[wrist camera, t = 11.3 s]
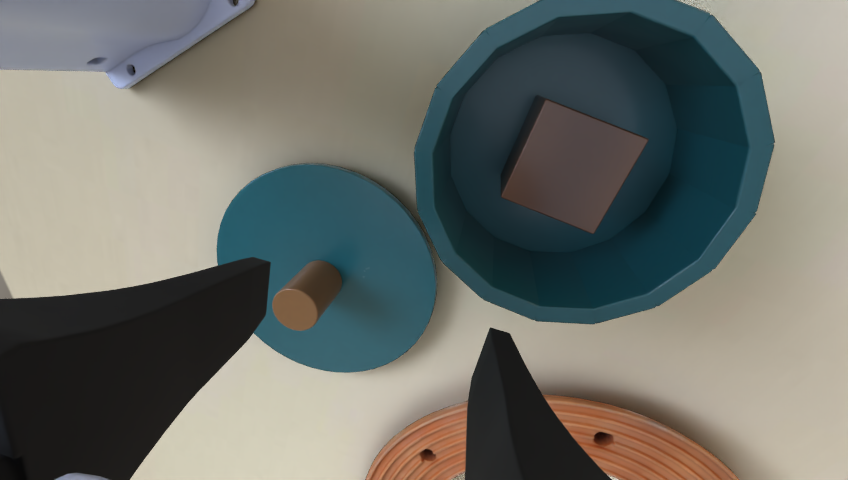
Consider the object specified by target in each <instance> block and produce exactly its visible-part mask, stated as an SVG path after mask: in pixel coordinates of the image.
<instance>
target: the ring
mask: <svg viewBox="0 0 848 480" xmlns="http://www.w3.org/2000/svg"><path fill="white" fill-rule="evenodd" d="M543 396H544V398H545V399H546V401H547V403H548V404H549V406H550V407H551V409H552V410H553V411H554V413H555V414H556V416H557V417H558V418H559V420H560V421H561V422H562V424H563V425H564V426H565V428H566V429H567V430H568V431H569V433H570V434H571V435H572V437H573V438H574V439H575V440H576V441H577V443H578V444H579V445H580V446H581V447H582V448H583V450H584V451H585V452H586V453H587V454H588V455H589V456H590V457H591V458H592V460H593V461H594V462H595V463H596V464H597V465H598V466H599V467H600V468H601V469H602V470H603V471H604V472H605V473H606V474H607V475H610V476H612V477H615V478H617V479H619V480H739V479H738V478H737V476H736V475H735V474H734V473H733V472H732V471H731V470H730V469H729V468H728V467H727V466H726V465H725V464H724V463H722V462H721V461H720V460H719V459H718V458H716V457H715V456H714V455H713V454H711V453H710V452H709V451H707V450H706V449H705V448H703V447H702V446H701V445H699V444H697V443H696V442H694V441H692V440H691V439H689V438H687V437H686V436H684V435H682V434H681V433H679V432H677V431H675V430H674V429H672V428H670V427H668V426H666V425H664V424H661V423H659V422H657V421H655V420H653V419H651V418H648V417H646V416H643V415H640V414H638V413H635V412H632V411H629V410H626V409H623V408H620V407H616V406H613V405H609V404H605V403H600V402H596V401H591V400H586V399H580V398H574V397H567V396H556V395H543ZM467 406H468V401H466V402H463V403H459V404H455V405H452V406H449V407H446V408H443V409H441V410H439V411H436V412H434V413H431V414H429V415H427V416H425V417H423V418H421V419H419V420H417V421H416V422H414V423H412V424H411V425H409V426H408V427H406V428H405V429H403V430H402V431H401V432H400V433H398V434H397V435H395V436H394V437H393V438H392V439H391V440H390V441H389V442H388V443H387V444H386V445H385V446H384V448H383V449H382V450H381V451H380V452H379V454H378V455H377V457H376V458H375V459H374V461H373V463H372V465H371V467H370V469H369V472H368V474H367V477H366V479H365V480H451V479H453V478H455V477H457V476H458V475H460V474H463V473H465V464H466V428H467Z"/></svg>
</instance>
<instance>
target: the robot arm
mask: <svg viewBox="0 0 848 480" xmlns="http://www.w3.org/2000/svg"><path fill="white" fill-rule="evenodd" d="M254 2H255V0H239V1H238V4H237V6H235V5H234V3H233V0H0V69H2V70H48V71H94V72H106V74H107V75H108V77H109V78H110V80H111V82H112V83H113V84H114V85H115V86H116V87H117V88H120V89H127V88H130V87H131V86H133V85H134V84H136V83H137V82H139V81H140V80H142V79H143V78H145V77H146V76H148V75H149V74H151V73H152V72H154V71H155V70H157V69H158V68H160V67H161V66H163V65H164V64H166V63H167V62H169V61H170V60H172V59H173V58H175V57H176V56H178V55H179V54H181V53H182V52H184V51H185V50H187V49H188V48H190V47H191V46H193V45H194V44H196V43H197V42H199V41H200V40H202V39H203V38H205V37H206V36H208V35H210V34H211V33H213V32H214V31H216V30H217V29H219V28H220V27H222V26H223V25H225V24H226V23H228V22H229V21H231V20H232V19H234V18H235V17H237V16H238V15H240V14H241V13H243V12H244V11H246V10H247V9H249V8H250V7H251V6H252V5H253V4H254ZM133 66H134V67H135V70H136V72H135V73H134V72H133ZM270 266H271V262H269V261H265V260H262V259H259V258H255V257H250V258H245V259H241V260H237V261H233V262H229V263H226V264H222V265H219V266H215V267H212V268H208V269H205V270H201V271H198V272H194V273H190V274H186V275H182V276H178V277H174V278H170V279H166V280H162V281H158V282H154V283H149V284H144V285H139V286H134V287H128V288H122V289H116V290H109V291H102V292H93V293H84V294H75V295H66V296H54V297H39V298H17V299H0V480H130V478H131V477H132V476H133V474H134V473H135V471H136V470H137V469H138V467H139V466H140V464H141V463H142V462H143V460H144V459H145V458H146V456H147V455H148V454H149V452H150V451H151V450H152V448H153V447H154V446H155V444H156V443H157V442H158V440H159V439H160V438H161V436H162V435H163V434H164V432H165V431H166V430H167V429H168V427H169V426H170V425H171V423H172V422H173V421H174V420H175V418H176V417H177V416H178V415H179V413H180V412H181V411H182V410H183V408H184V407H185V406H186V405H187V403H188V402H189V401H190V400H191V399H192V398H193V397H194V396H195V394H196V393H197V392H198V391H199V390H200V389H201V388H202V387H203V386H204V385H205V384H206V383H207V382H208V381H209V380H210V379H211V378H212V377H213V376H214V375H215V374H216V373H217V372H218V371H219V370H220V369H221V367H222V366H223V365H224V364H225V363H226V362H227V361H228V360H229V359H230V358H231V357H232V356H233V355H234V354H235V353H236V352H237V351H238V350H239V349H240V348H241V347H242V346H243V345H244V344H245V342H246V341H247V340H248V339H249V338H250V337H251V335H252V334H253V333H254V331H255V330H256V329H257V327H258V326H259V324H260V323H261V321H262V320H263V319H264V317H265V316H266V310H267V299H268V288H269V277H270ZM465 480H611V479H610V478H609V477H608V476H607V474H606V473H605V472H604V471H603V470H602V469H601V468H600V467H599V466H598V465H597V464H596V463H595V462H594V461H593V460H592V458H591V457H590V456H589V455H588V454H587V453H586V452H585V451H584V450H583V448H582V447H581V446H580V445H579V444H578V443H577V441H576V440H575V439H574V438H573V437H572V435H571V434H570V433H569V431H568V430H567V429H566V428H565V426H564V425H563V424H562V422H561V421H560V420H559V418H558V417H557V416H556V414H555V413H554V411H553V410H552V409H551V407H550V406H549V404H548V403H547V401H546V399H545V398H544V396H543V395H542V393H541V392H540V390H539V388H538V387H537V385H536V383H535V381H534V380H533V378H532V376H531V374H530V373H529V371H528V369H527V367H526V365H525V363H524V361H523V359H522V357H521V355H520V353H519V351H518V349H517V347H516V345H515V343H514V341H513V339H512V337H511V335H510V333H507V332H503V331H500V330H497V329H493V328H490V329H489V332H488V335H487V337H486V340H485V343H484V346H483V348H482V351H481V354H480V357H479V359H478V362H477V365H476V368H475V371H474V373H473V376H472V380H471V386H470V392H469V399H468V406H467V428H466V464H465Z"/></svg>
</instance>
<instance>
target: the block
mask: <svg viewBox="0 0 848 480" xmlns="http://www.w3.org/2000/svg"><path fill="white" fill-rule="evenodd" d="M648 141H649V139H648V138H646V137H643V136H641V135H638V134H636V133H633V132H631V131H628V130H625V129H623V128H620V127H618V126H615V125H613V124H610V123H608V122H605V121H603V120H600V119H597V118H595V117H592V116H590V115H587V114H585V113H582V112H580V111H577V110H575V109H572V108H570V107H567V106H564V105H562V104H559V103H557V102H554V101H552V100H549V99H547V98H544V97H541V96H539V95H537V96H536V97H535V99H534V101H533V104H532V106H531V108H530V110H529V112H528V115H527V117H526V119H525V121H524V124H523V126H522V128H521V130H520V133H519V135H518V137H517V139H516V141H515V144H514V146H513V148H512V150H511V153H510V155H509V157H508V159H507V162H506V164H505V166H504V168H503V170H502V173H501V175H500V177H501V197H502V198H503V199H506V200H508V201H511V202H513V203H516V204H518V205H521V206H523V207H526V208H528V209H531V210H533V211H536V212H538V213H541V214H543V215H546V216H548V217H551V218H553V219H556V220H558V221H561V222H563V223H566V224H568V225H571V226H573V227H576V228H578V229H581V230H583V231H586V232H588V233H591V234H594V233H595V231H596V230H597V228H598V226H599V225H600V223H601V221H602V220H603V218H604V216H605V214H606V213H607V211H608V209H609V208H610V206H611V204H612V202H613V201H614V199H615V197H616V196H617V194H618V192H619V190H620V189H621V187H622V185H623V184H624V182H625V180H626V179H627V177H628V175H629V173H630V172H631V170H632V168H633V167H634V165H635V163H636V161H637V160H638V158H639V156H640V155H641V153H642V151H643V150H644V148H645V146H646V144H647V143H648Z"/></svg>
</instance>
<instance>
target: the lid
mask: <svg viewBox="0 0 848 480" xmlns="http://www.w3.org/2000/svg"><path fill="white" fill-rule="evenodd" d="M250 257H255V258H259V259H262V260H265V261H269V262H271V266H270V277H269V288H268V299H267V310H266V316H265V317H264V319H263V320H262V321H261V323H260V324H259V326H258V327H257V329H256V330H255V331H254V334H255V335H256V336H257V337H259V338H260V339H261V340H262V341H263V342H264V343H266V344H267V345H268V346H270V347H271V348H272V349H274V350H275V351H277V352H278V353H280V354H282V355H283V356H285V357H287V358H289V359H291V360H293V361H295V362H298V363H300V364H303V365H306V366H309V367H312V368H316V369H320V370H324V371H331V372H348V373H349V372H360V371H366V370H370V369H375V368H377V367H380V366H383V365H386V364H388V363H390V362H392V361H393V360H395V359H397V358H398V357H400V356H401V355H403V354H404V353H405V352H407V351H408V350H409V349H410V348H411V347H412V346H413V345H414V344H415V343H416V342H417V340H418V339H419V338H420V336H421V335H422V334H423V332H424V330H425V328H426V327H427V325H428V323H429V320H430V317H431V315H432V312H433V309H434V304H435V299H436V294H437V275H436V266H435V262H434V258H433V254H432V251H431V248H430V246H429V243H428V241H427V238H426V236H425V234H424V233H423V231H422V229H421V227H420V226H419V224H418V222H417V221H416V220H415V218H414V217H413V216H412V214H411V213H410V212H409V210H408V209H407V208H406V207H405V206H404V205H403V204H402V203H401V202H400V201H399V200H398V199H397V198H396V197H395V196H394V195H392V194H391V193H390V192H389V191H388V190H386V189H385V188H384V187H382V186H381V185H379V184H377V183H376V182H374V181H373V180H371V179H369V178H367V177H365V176H363V175H361V174H359V173H357V172H354V171H351V170H348V169H345V168H342V167H338V166H333V165H328V164H318V163H303V164H293V165H289V166H284V167H280V168H277V169H275V170H272V171H270V172H267V173H265V174H263V175H261V176H259V177H258V178H256V179H254V180H253V181H251V182H250V183H249V184H247V185H246V186H245V187H244V188H243V189H242V190H241V191H240V192H239V193H238V194H237V195H236V196H235V198H234V199H233V200H232V202H231V203H230V205H229V207H228V208H227V210H226V212H225V214H224V217H223V219H222V222H221V224H220V229H219V233H218V240H217V262H218V266H219V265H222V264H226V263H229V262H233V261H237V260H241V259H245V258H250Z"/></svg>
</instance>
